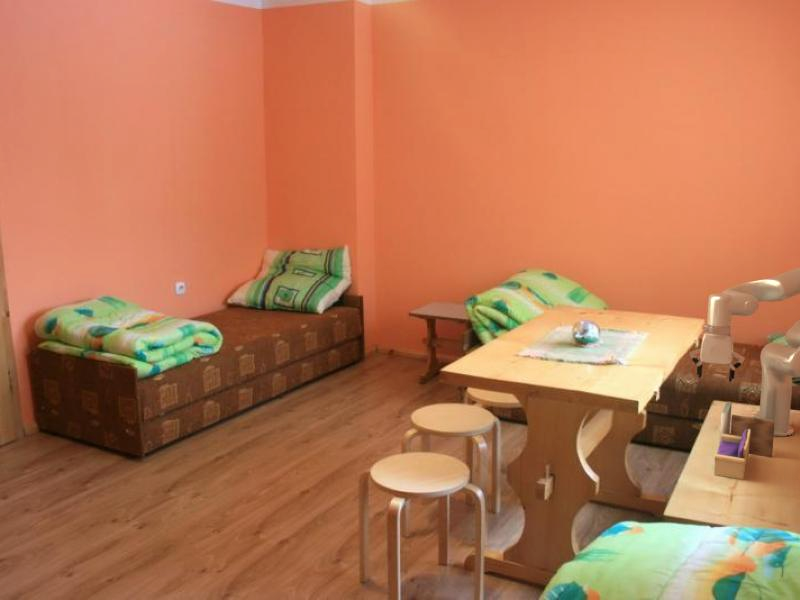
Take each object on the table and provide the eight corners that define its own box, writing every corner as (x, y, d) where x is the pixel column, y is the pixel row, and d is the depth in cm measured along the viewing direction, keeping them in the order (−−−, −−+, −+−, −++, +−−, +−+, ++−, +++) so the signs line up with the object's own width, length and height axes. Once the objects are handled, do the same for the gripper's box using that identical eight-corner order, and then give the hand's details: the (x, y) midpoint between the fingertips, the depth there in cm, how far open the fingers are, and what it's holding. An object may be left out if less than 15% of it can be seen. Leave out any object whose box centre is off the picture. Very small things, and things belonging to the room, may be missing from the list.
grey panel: (719, 445, 241) (721, 414, 239) (724, 431, 254) (726, 401, 252) (725, 446, 240) (727, 415, 238) (730, 432, 253) (732, 402, 251)
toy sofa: (719, 452, 236) (721, 422, 234) (749, 457, 232) (751, 427, 230) (712, 476, 218) (714, 444, 217) (744, 481, 214) (746, 449, 212)
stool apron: (729, 450, 237) (731, 416, 235) (730, 449, 238) (732, 414, 236) (771, 457, 231) (774, 422, 229) (772, 455, 232) (774, 420, 230)
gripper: (689, 329, 244) (686, 378, 247) (746, 334, 236) (742, 384, 238) (692, 325, 250) (689, 372, 253) (747, 330, 242) (743, 379, 245)
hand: (715, 378), depth 246 cm, fingers open, 9 cm apart
